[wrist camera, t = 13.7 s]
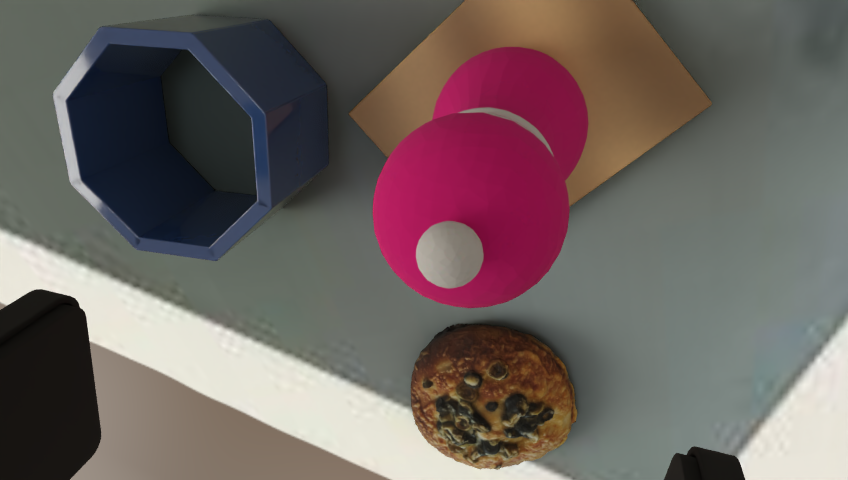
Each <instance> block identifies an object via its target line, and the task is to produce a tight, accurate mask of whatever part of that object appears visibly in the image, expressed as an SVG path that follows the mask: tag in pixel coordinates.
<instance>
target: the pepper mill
mask: <svg viewBox="0 0 848 480" xmlns="http://www.w3.org/2000/svg"><path fill="white" fill-rule="evenodd" d="M588 124H589V123H588V111H587V107H586V103H585V99H584V96H583V94H582V92H581V90H580V88H579V86H578V84H577V82H576V80H575V79H574V78H573V77H572V75H571V74H570V73H569V72H568V70H567V69H566V68H565V67H563V66H562V65H561V64H560V63H558V62H557V61H556V60H555V59H553V58H552V57H550V56H549V55H547V54H545V53H542V52H540V51H537V50H533V49H528V48H523V47H501V48H494V49H491V50H488V51H485V52H482V53H480V54H478V55H476V56H474V57H472V58H470V59H469V60H468V61H466V62H465V63H463V64H462V65H461V66H460V67H459V68H458V69H457V70H456V71H455V72H454V73H453V74H452V75H451V77H450V78H449V79H448V81H447V82H446V84H445V85H444V87H443V89H442V91H441V93H440V95H439V97H438V99H437V101H436V105H435V109H434V113H433V118H432V120H431V121H429V122H427V123H425V124H423V125H422V126H420V127H419V128H417V129H416V130H414V131H412V132H411V133H410V134H409V135H408V136H407V137H405V138H404V139H403V140H402V141H401V142H400V143H399V144H398V145H397V147H396V148H395V149H394V150H393V152H392V153H391V154H390V156H389V158H388V160H387V161H386V163H385V165H384V167H383V169H382V171H381V174H380V176H379V178H378V180H377V185H376V189H375V194H374V199H373V220H374V231H375V234H376V237H377V240H378V243H379V246H380V249H381V252H382V254H383V256H384V257H385V259H386V260H387V262H388V264H389V265H390V267H391V268H392V269H393V271H394V272H395V273H396V274H397V275H398V276H399V277H400V278H401V279H402V280H403V281H404V282H405V283H406V284H407V285H408V286H409V287H410V288H412V289H413V290H415V291H416V292H418V293H419V294H421V295H422V296H424V297H427V298H429V299H432V300H434V301H436V302H439V303H442V304H447V305H451V306H455V307H465V308H478V307H489V306H493V305H497V304H501V303H505V302H507V301H509V300H512V299H514V298H516V297H518V296H519V295H521V294H523V293H524V292H526V291H527V290H528V289H530V288H531V287H532V286H534V285H535V284H537V283H538V282H539V281H540V280H541V278H542V277H543V276H544V275H545V274H546V273H547V272H548V271H549V269H550V268H551V266H552V264H553V263H554V261H555V260H556V258H557V256H558V255H559V253H560V251H561V248H562V245H563V242H564V239H565V236H566V233H567V229H568V220H569V211H570V209H569V197H568V191H567V186H566V183H565V180H566V179H567V178H568V177H569V176H570V174H571V173H572V172H573V170H574V169H575V167H576V165H577V163H578V161H579V159H580V157H581V155H582V152H583V149H584V146H585V143H586V139H587V134H588Z"/></svg>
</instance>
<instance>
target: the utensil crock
mask: <svg viewBox="0 0 848 480" xmlns="http://www.w3.org/2000/svg"><path fill="white" fill-rule="evenodd" d="M182 49H183V50H189V51H190V52H191V53H192V54H193V55H194V57H195V58H196V59H197V60H198V61H199V62H200V63H201V64H202V65H203V66H204V67H205V68H206V70H207V71H208V72H209V73H210V74H211V75H212V76H213V77H214V78H215V79H216V80H217V81H218V83H219V84H220V85H221V86H222V87H223V88H224V89H225V90H226V91H227V92H228V93H229V94H230V96H231V97H232V98H233V99H234V100H235V101H236V102H237V103H238V104H239V105H240V106H241V107H242V109H243V110H244V111H245V112H246V113H247V114H248V115H249V116H250V117H251V122H252V135H253V149H254V162H255V176H256V190H257V196H256V195H248V194H239V193H231V192H222V191H215V190H214V189H213V188H212V187H211V186H210V185H209V184H208V183H207V182H206V181H205V180H204V178H203V177H202V176H201V175H200V174H199V173H198V172H197V171H196V170H195V169H194V168H193V167H192V166H191V165H190V164H189V163H188V162H187V161H186V160H185V159H184V158H183V157H182V155H181V154H180V153H179V152H178V151H177V150H176V149H175V148H174V147H173V146H172V145H171V144H170V143H169V138H168V131H167V123H166V115H165V107H164V99H163V92H162V84H161V75H162V74H163V72H164V71H165V70H166V69H167V68H168V66H169V65H170V64H171V63H172V61H173V60H174V59H175V58H176V56H177V55H178V54H179V53H180V52H181V50H182ZM53 99H54V104H55V109H56V115H57V120H58V125H59V130H60V135H61V140H62V145H63V150H64V155H65V160H66V165H67V170H68V175H69V180H70V183H71V185H72V186H73V187H74V188H75V189H76V190H77V191H78V192H79V193H80V194H81V195H82V196H83V197H84V198H85V199H86V200H87V201H88V202H89V203H90V204H91V205H92V206H93V207H94V208H95V209H96V210H97V211H98V212H99V213H100V214H101V215H102V216H103V217H104V218H105V219H106V220H107V221H108V222H109V223H110V224H111V225H112V226H113V227H114V228H115V229H116V230H117V231H118V232H119V233H120V234H121V235H122V236H123V237H124V238H125V239H126V240H127V241H128V242H129V243H130V244H131V245H132V246H133V247H134V248H135V249H136V250H141V251H149V252H156V253H163V254H170V255H177V256H184V257H191V258H198V259H205V260H212V261H217V260H219V259H220V258H221V257H222V256H224V255H225V254H226V253H227V252H229V251H230V250H231V249H232V248H234V247H235V246H236V245H237V244H238V243H240V242H241V241H242V240H243V239H245V238H246V237H247V236H248V235H250V234H251V233H252V232H253V231H255V230H256V229H257V228H258V227H259V226H261V225H262V224H263V223H264V222H266V221H267V220H268V219H269V218H271V217H272V216H273V215H274V214H276V213H277V212H278V211H279V210H281V209H282V208H283V207H284V206H285V205H286V204H287V203H288V202H289V201H290V200H291V199H292V198H293V197H294V196H296V195H297V194H298V193H299V192H300V191H301V190H302V189H303V188H304V187H305V186H306V185H307V184H308V183H309V182H310V181H312V180H313V179H314V178H315V177H316V176H317V175H318V174H319V173H320V172H321V171H322V170H323V169H324V168H325V167H327V166H328V164H329V152H328V111H327V85H326V83H325V82H324V81H323V80H322V79H321V77H320V76H319V75H318V74H317V73H316V72H315V71H314V70H313V68H312V67H311V66H310V65H309V64H308V63H307V62H306V61H305V59H304V58H303V57H302V56H301V55H300V54H299V53H298V52H297V50H296V49H295V48H294V47H293V46H292V45H291V44H290V43H289V41H288V40H287V39H286V38H285V37H284V36H283V35H282V34H281V33H280V31H279V30H278V29H277V28H276V27H275V26H274V25H273V24H272V22H271V21H270V20H268V19H258V18H242V17H226V16H210V15H194V14H193V15H186V16H178V17H170V18H162V19H155V20H147V21H139V22H131V23H124V24H116V25H108V26H102V27H100V28H99V29H98V30H97V32H96V33H95V34H94V36H93V37H92V39H91V40H90V41H89V43H88V44H87V46H86V47H85V48H84V50H83V51H82V53H81V54H80V55H79V57H78V58H77V60H76V61H75V62H74V64H73V65H72V67H71V68H70V69H69V71H68V72H67V74H66V75H65V76H64V78H63V79H62V81H61V82H60V83H59V85H58V86H57V88H56V89H55V90H54V92H53Z"/></svg>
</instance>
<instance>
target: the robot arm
mask: <svg viewBox="0 0 848 480" xmlns="http://www.w3.org/2000/svg"><path fill="white" fill-rule="evenodd" d="M100 440H101V428H100V420H99V413H98V405H97V397H96V390H95V382H94V374H93V367H92V359H91V352H90V343H89V335H88V328H87V320H86V315H85V312H84V311H83V310H82V309H81V308H80V307H79V303H78V302H77V300H76V299H75V298H73V297H71V296H67V295H63V294H59V293H54V292H50V291H46V290H42V289H39V290H34V291H31V292H29V293H27V294H26V295H24V296H22V297H21V298H19V299H18V300H16V301H14V302H13V303H11V304H9V305H8V306H6V307H4V308H3V309H1V310H0V480H70V479H71V478H72V477H73V476H74V475H75V474H76V473H77V471H78V470H80V468H81V467H82V466H83V465H84V464H85V463H86V462H87V461H88V460H89V459H90V458H91V457H92V456H93V455H94V453H95V452H96V450H97V448H98V446H99V443H100ZM664 480H745V477H744V474H743V471H742V468H741V465H740V462H739V460H738V458H736V457H735V456H732V455H728V454H724V453H720V452H716V451H712V450H707V449H703V448H699V447H692V448H691V449H690V450H689V451H688V453H687V455H683V454H679V453H676V454H675V455H674V456H673V458H672V460H671V463H670V466H669V468H668V471H667V474H666V476H665V479H664Z"/></svg>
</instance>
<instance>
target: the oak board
mask: <svg viewBox="0 0 848 480" xmlns="http://www.w3.org/2000/svg"><path fill="white" fill-rule="evenodd" d="M501 47H523V48H528V49H533V50H537V51H540V52H542V53H545V54H547V55H549V56H550V57H552V58H553V59H555V60H556V61H557V62H558V63H560V64H561V65H562V66H563V67H565V68H566V69H567V70H568V72H569V73H570V74H571V75H572V77H573V78H574V79H575V80H576V82H577V84H578V86H579V88H580V90H581V92H582V94H583V96H584V99H585V103H586V107H587V111H588V123H589V124H588V134H587V139H586V143H585V146H584V149H583V152H582V155H581V157H580V159H579V161H578V163H577V165H576V167H575V169H574V170H573V172H572V173H571V174H570V176H569V177H568V178H567V179H566V180H565V183H566V186H567V191H568V197H569V207H570V206H571V205H573V204H574V203H576V202H577V201H578V200H580V199H581V198H583V197H584V196H585V195H587V194H588V193H589V192H591V191H592V190H594V189H595V188H596V187H598V186H599V185H601V184H602V183H603V182H605V181H606V180H608V179H609V178H610V177H612V176H613V175H615V174H616V173H617V172H619V171H620V170H622V169H623V168H624V167H626V166H627V165H629V164H630V163H631V162H633V161H634V160H636V159H637V158H638V157H640V156H641V155H642V154H644V153H645V152H647V151H648V150H649V149H651V148H652V147H654V146H655V145H656V144H658V143H659V142H661V141H662V140H663V139H665V138H666V137H668V136H669V135H670V134H672V133H673V132H675V131H676V130H677V129H679V128H680V127H682V126H683V125H684V124H686V123H687V122H688V121H690V120H691V119H693V118H694V117H695V116H697V115H698V114H700V113H701V112H702V111H704V110H705V109H707V108H708V107H709V106H711V105H712V102H711V101H710V99H709V98H708V97H707V96H706V94H705V93H704V92H703V90H702V89H701V88H700V87H699V85H698V84H697V83H696V81H695V80H694V79H693V78H692V76H691V75H690V74H689V72H688V71H687V70H686V69H685V67H684V66H683V65H682V63H681V62H680V61H679V60H678V58H677V57H676V56H675V54H674V53H673V52H672V51H671V49H670V48H669V47H668V45H667V44H666V43H665V42H664V40H663V39H662V38H661V36H660V35H659V34H658V33H657V31H656V30H655V29H654V27H653V26H652V25H651V24H650V22H649V21H648V20H647V18H646V17H645V16H644V14H643V13H642V12H641V11H640V9H639V8H638V7H637V5H636V4H635V3H634V2H633V0H465V1H464V2H463V3H462V4H461V5H460V6H459V7H458V8H457V9H456V10H455V11H454V12H452V13H451V14H450V15H449V16H448V17H447V18H446V19H445V20H444V21H443V22H442V23H441V24H440V25H439V26H438V27H437V28H436V29H435V30H434V31H433V32H432V33H431V34H430V35H429V36H428V37H427V38H426V39H425V40H424V41H423V42H421V43H420V44H419V45H418V46H417V47H416V48H415V49H414V50H413V51H412V52H411V53H410V54H409V55H408V56H407V57H406V58H405V59H404V60H403V61H402V62H401V63H400V64H399V65H398V66H397V67H396V68H395V69H394V70H393V71H391V72H390V73H389V74H388V75H387V76H386V77H385V78H384V79H383V80H382V81H381V82H380V83H379V84H378V85H377V86H376V87H375V88H374V89H373V90H372V91H371V92H370V93H369V94H368V95H367V96H366V97H365V98H364V99H363V100H362V101H360V102H359V103H358V104H357V105H356V106H355V107H354V108H353V109H352V110H351V111H350V112H349V115H350V116H351V118H352V119H353V120H354V121H355V122H356V123H357V124H358V125H359V127H360V128H361V129H362V130H363V131H364V132H365V133H366V134H367V135H368V137H369V138H370V139H371V140H372V141H373V142H374V143H375V144H376V146H377V147H378V148H379V149H380V150H381V151H382V152H383V153H384V155H385V156H386V157H387V158H389V156H390V154H391V153H392V152H393V150H394V149H395V148H396V147H397V145H398V144H399V143H400V142H401V141H402V140H403V139H404V138H405V137H407V136H408V135H409V134H410V133H411V132H412V131H414V130H416V129H417V128H419V127H420V126H422V125H423V124H425V123H427V122H429V121H431V120H432V118H433V113H434V109H435V105H436V101H437V99H438V97H439V95H440V93H441V91H442V89H443V87H444V85H445V84H446V82H447V81H448V79H449V78H450V77H451V75H452V74H453V73H454V72H455V71H456V70H457V69H458V68H459V67H460V66H461V65H462V64H463V63H465V62H466V61H468V60H469V59H470V58H472V57H474V56H476V55H478V54H480V53H482V52H485V51H488V50H491V49H494V48H501Z"/></svg>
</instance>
